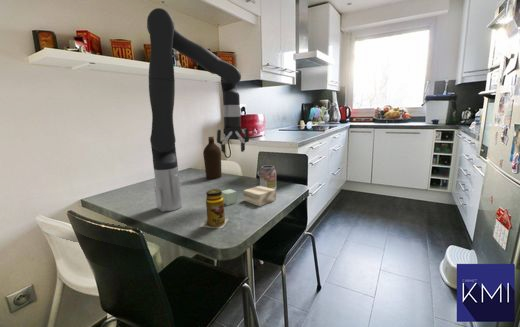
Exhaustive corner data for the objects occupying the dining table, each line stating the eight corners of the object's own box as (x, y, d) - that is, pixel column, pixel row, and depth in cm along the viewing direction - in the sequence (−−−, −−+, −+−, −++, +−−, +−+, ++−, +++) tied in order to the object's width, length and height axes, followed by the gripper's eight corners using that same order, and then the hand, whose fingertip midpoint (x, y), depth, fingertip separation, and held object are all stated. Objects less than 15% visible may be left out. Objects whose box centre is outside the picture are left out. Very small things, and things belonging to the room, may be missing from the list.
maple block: (259, 206, 103) (259, 195, 102) (244, 201, 110) (243, 190, 109) (276, 200, 110) (275, 189, 109) (260, 195, 117) (260, 185, 116)
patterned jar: (264, 194, 118) (263, 169, 115) (255, 190, 124) (254, 166, 122) (279, 190, 122) (279, 166, 120) (270, 186, 129) (269, 164, 127)
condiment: (222, 228, 84) (220, 194, 81) (198, 227, 85) (195, 194, 83) (228, 219, 91) (226, 188, 88) (206, 218, 92) (204, 187, 90)
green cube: (227, 205, 105) (226, 194, 104) (221, 202, 109) (220, 191, 108) (237, 202, 108) (236, 191, 107) (230, 199, 112) (229, 189, 111)
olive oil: (220, 179, 148) (217, 137, 143) (203, 179, 149) (199, 137, 144) (224, 175, 158) (221, 135, 153) (208, 175, 159) (205, 136, 154)
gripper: (217, 116, 104) (219, 154, 107) (250, 115, 109) (250, 152, 112) (214, 116, 110) (216, 152, 114) (244, 115, 115) (245, 150, 118)
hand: (233, 152), depth 113 cm, fingers open, 8 cm apart
